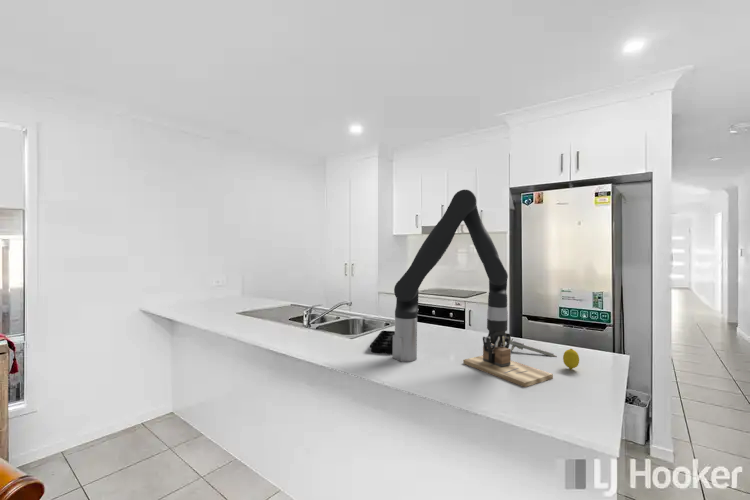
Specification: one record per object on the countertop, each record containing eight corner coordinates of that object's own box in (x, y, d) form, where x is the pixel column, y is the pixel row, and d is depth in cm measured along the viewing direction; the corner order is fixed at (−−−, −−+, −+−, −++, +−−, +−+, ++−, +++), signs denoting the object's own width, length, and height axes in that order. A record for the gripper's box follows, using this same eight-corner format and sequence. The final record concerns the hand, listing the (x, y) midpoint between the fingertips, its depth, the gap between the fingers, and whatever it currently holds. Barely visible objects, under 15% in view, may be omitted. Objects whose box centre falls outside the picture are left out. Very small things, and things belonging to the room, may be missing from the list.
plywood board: (524, 387, 124) (525, 382, 124) (463, 363, 148) (463, 359, 148) (552, 378, 133) (552, 374, 133) (490, 357, 156) (490, 353, 156)
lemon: (577, 367, 144) (578, 347, 144) (580, 372, 139) (580, 351, 139) (561, 366, 146) (562, 346, 146) (563, 370, 141) (564, 349, 141)
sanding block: (510, 364, 142) (510, 349, 142) (501, 366, 139) (502, 351, 139) (491, 358, 149) (491, 343, 149) (483, 360, 147) (483, 345, 146)
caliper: (506, 351, 167) (506, 337, 167) (506, 350, 168) (506, 336, 168) (556, 357, 158) (557, 342, 158) (556, 356, 159) (557, 342, 159)
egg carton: (369, 355, 158) (369, 346, 158) (370, 337, 188) (370, 329, 188) (410, 355, 159) (411, 347, 158) (405, 337, 189) (405, 330, 188)
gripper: (501, 314, 151) (500, 356, 151) (477, 318, 143) (476, 361, 143) (517, 317, 144) (516, 361, 145) (492, 321, 137) (491, 367, 137)
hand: (496, 361), depth 144 cm, fingers closed on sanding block, 5 cm apart
